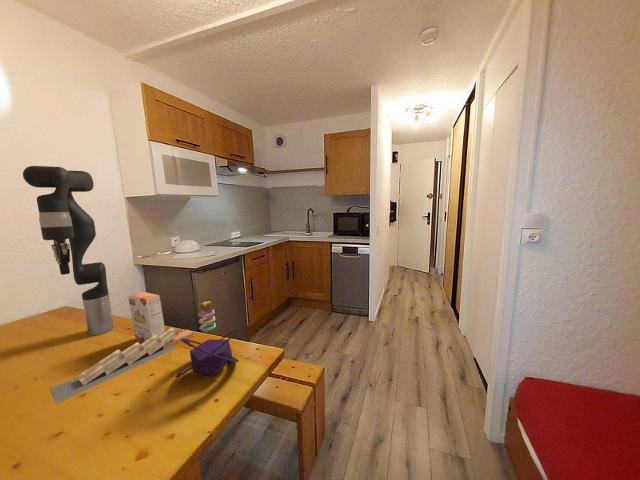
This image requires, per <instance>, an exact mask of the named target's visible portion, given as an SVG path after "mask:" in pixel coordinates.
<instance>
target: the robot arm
mask: <svg viewBox="0 0 640 480" xmlns="http://www.w3.org/2000/svg"><path fill="white" fill-rule="evenodd" d="M22 178H23V179H24V181H25V183H27V185H29V186H31V187H33V188H42V189H43V188H46V189H47V188H48V189H49V188H51V189H52V188H54V189H55V190H54V191H53V192H51V193H47V194H41V195H38V196H37V197H36V203H37V204H36V205H37V210H38V212H39V213H38V215H39V216H38V222H39V225H40V226H39V228H40V231H41V237H42V239H43V240H44V241H53V244H51V245H50V247H51V250H52V251H53V257H54V258H55V261H56V262H57V264H58V266H59V273H60V274H61V275H63V276H64V275H69V274H70V273H71V271H70V264H69V263H70V262H72V274H73V279H74V282H75V284H76V285H78V286H84V285H89V284H95V283H97V284H96V285H95V286H93V287H91V288H89V289H87V290H85V291H84V292H82V293H81V298H82V299H81V300H82V304H83V305H82V306H83V311H84V316H85V320H86V321H85V322H86V327H87V334H88V336H98V335H99V336H100V335H102V334H105V333H108V332H110V331H112V330H113V329H114V328H115V326H114V319H113V312H112V305H111V301H110V295H109V287H108V281H107V269H106V266H105V263H103V262H91V263H85V264H83V259H84V256H85V254H86V252H87V251H88V248H89V247H90V245H91V244H92V243H93V241H94V240H95V239H96V236H97V235H96V234H97V232H96V226H95V220H94V219H93V218H92V216H91V215H90V214H88V212H86V211H85V210H84V208H82V206H80V205H79V204H78V203H77V201H76V199H75V198H74V195H73V193H82V192H83V193H86V192H91V191H92V190H93V189H94V186H95V185H94V179H93V176H92V174H90V172H87V171H84V170H69V169H68V170H67V169H66V168H64V167H60V166H48V165H47V166H46V165H30V166H27V167H26V168H24V169H23V171H22ZM67 240H68V242H69V243H67Z"/></svg>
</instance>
